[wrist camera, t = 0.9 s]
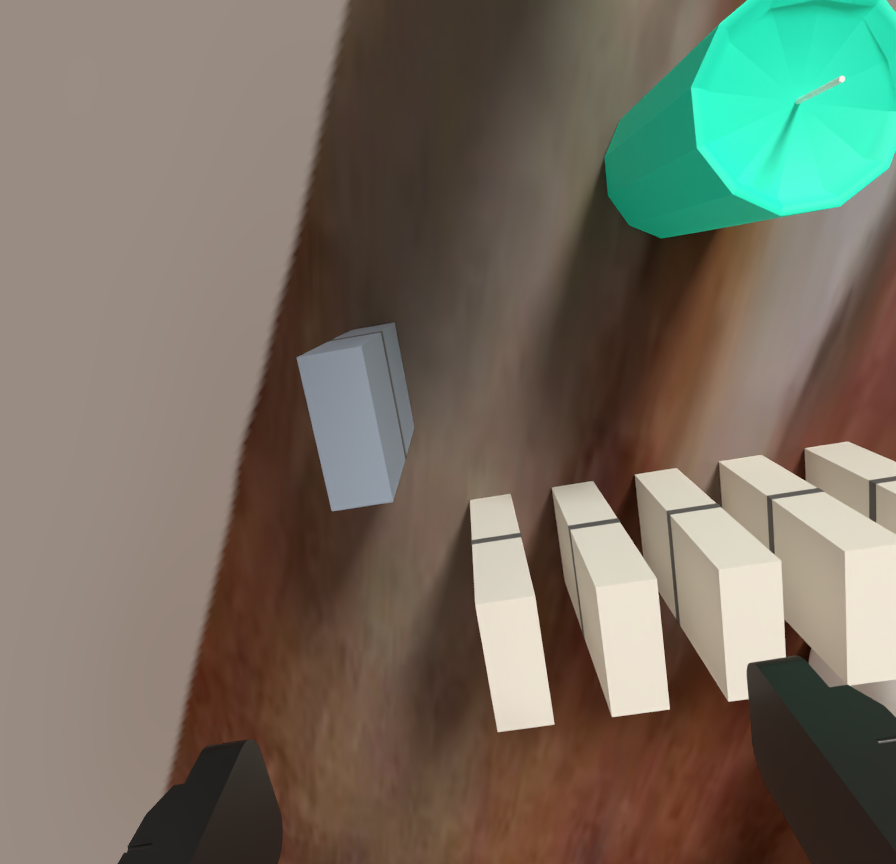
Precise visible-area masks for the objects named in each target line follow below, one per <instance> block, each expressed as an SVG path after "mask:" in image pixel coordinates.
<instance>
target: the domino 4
mask: <svg viewBox="0 0 896 864" xmlns="http://www.w3.org/2000/svg"><path fill="white" fill-rule="evenodd" d="M635 483H636V493H637V502H638V512H639V521H640V531H641V541H642V550H643V558H644V560H645V561H646V563H647V564H648V566H649V567H650V569H651V570H652V572H653V573H654V575H655V576H656V578H657V584H658V591H659V593H660V594H661V596H662V598H663V599H664V601H665V602H666V604H667V606H668V607H669V609H670V610H671V612H672V613H673V615H674V617H675V618H676V620H677V623H678V624H679V626H681V628H682V629H683V631H684V632H685V634H686V636H687V637H688V639H689V640H690V642H691V644H692V645H693V647H694V648H695V650H696V651H697V653H698V655H699V656H700V658H701V659H702V661H703V663H704V664H705V666H706V667H707V669H708V670H709V672H710V674H711V675H712V677H713V678H714V680H715V682H716V683H717V685H718V686H719V688H720V689H721V691H722V693H723V694H724V696H725V697H726V699H727V700H728V702H730V701H737V700H745V699H749V698H748V686H747V673H746V672H747V666H748V664H749V663H752V662H758V661H765V660H771V659H777V658H784V657H786V650H785V629H784V607H783V586H782V564H781V560H780V559H779V558H778V557H777V556H775V555H774V554H773V553H772V552H771V551H770V550H769V549H768V548H766V547H765V546H764V545H763V544H762V543H761V542H760V541H759V540H757V539H756V538H755V537H754V536H753V535H752V534H751V533H749V532H748V531H747V530H746V529H745V528H744V527H743V526H742V525H740V524H739V523H738V522H737V521H736V520H735V519H734V518H732V517H731V516H730V515H729V514H728V513H727V512H726V511H725V510H723V509H722V508H721V506H720V505H719V504H718V503H716V502H714V501H713V500H712V499H711V498H710V497H709V496H708V495H706V494H705V493H704V492H703V491H702V490H701V489H700V488H699V487H697V486H696V485H695V484H694V483H693V482H692V481H691V480H690V479H688V478H687V477H686V476H685V475H684V474H683V473H682V472H680V471H679V470H678V469H677V468H674V469H668V470H661V471H655V472H648V473H642V474H635Z"/></svg>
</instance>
